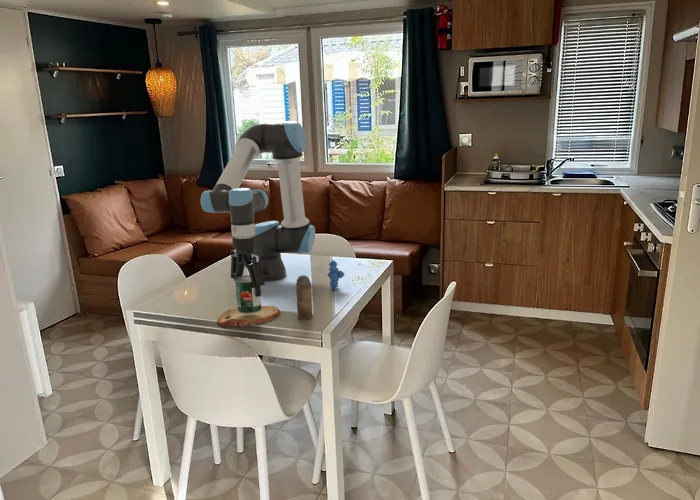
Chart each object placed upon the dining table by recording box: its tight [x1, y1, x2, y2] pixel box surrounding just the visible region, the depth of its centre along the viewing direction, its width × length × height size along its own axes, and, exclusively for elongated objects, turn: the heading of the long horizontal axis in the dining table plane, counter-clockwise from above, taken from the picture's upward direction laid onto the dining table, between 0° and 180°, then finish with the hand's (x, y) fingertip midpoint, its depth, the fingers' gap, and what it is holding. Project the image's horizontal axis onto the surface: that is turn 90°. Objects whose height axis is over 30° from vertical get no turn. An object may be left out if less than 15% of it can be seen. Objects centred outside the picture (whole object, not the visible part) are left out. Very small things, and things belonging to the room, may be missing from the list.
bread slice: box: [216, 305, 281, 328], centre depth 190 cm, size 18×18×4 cm
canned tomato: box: [234, 274, 262, 314], centre depth 186 cm, size 8×8×11 cm
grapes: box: [327, 259, 345, 290], centre depth 217 cm, size 12×7×12 cm, turn 1°
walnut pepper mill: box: [295, 274, 314, 320], centre depth 188 cm, size 5×5×15 cm
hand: (249, 302), depth 187 cm, fingers open, 9 cm apart
